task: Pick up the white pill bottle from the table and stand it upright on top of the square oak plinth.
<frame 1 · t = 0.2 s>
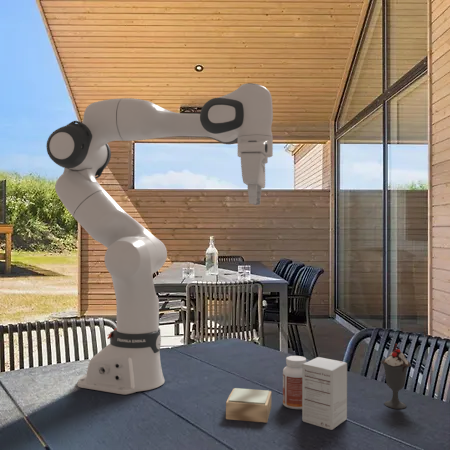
hand: (254, 204, 125), 47 cm above the table, tool pointing down, fingers open, 8 cm apart
plinth: (249, 412, 112), on the table
supplement box: (324, 421, 108), on the table
pill bottle: (295, 406, 117), on the table
sundae: (395, 406, 117), on the table
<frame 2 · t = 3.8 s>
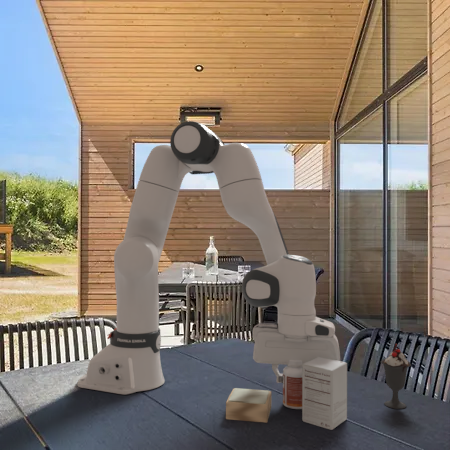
hand: (296, 383, 117), 5 cm above the table, tool pointing down, fingers closed on pill bottle, 6 cm apart
pill bottle: (295, 406, 117), on the table, touching gripper
everything else where it was.
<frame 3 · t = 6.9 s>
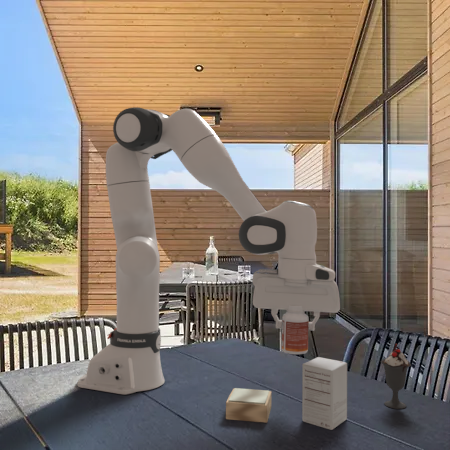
hand: (295, 329, 116), 18 cm above the table, tool pointing down, fingers closed on pill bottle, 6 cm apart
pill bottle: (294, 352, 116), point 12 cm above the table, touching gripper
everything else where it was.
when the fingers open (10 cm above the table, at t = 10.0 s): pill bottle drops 1 cm, resting on plinth.
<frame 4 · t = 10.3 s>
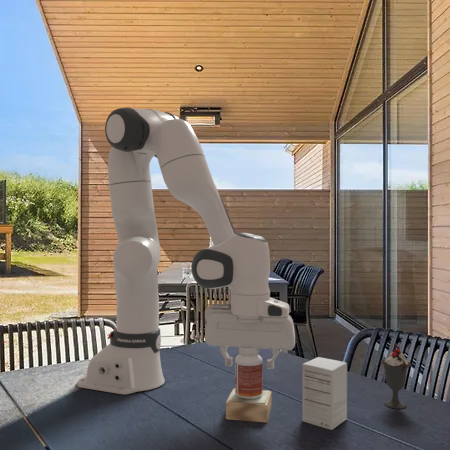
hand: (249, 366, 111), 10 cm above the table, tool pointing down, fingers open, 8 cm apart
pill bottle: (248, 396, 112), point 4 cm above the table, touching plinth
everything else where it was.
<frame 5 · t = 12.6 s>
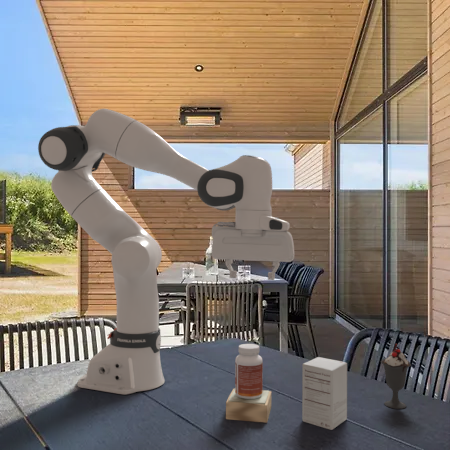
hand: (252, 279, 121), 29 cm above the table, tool pointing down, fingers open, 8 cm apart
nothing on the table moved.
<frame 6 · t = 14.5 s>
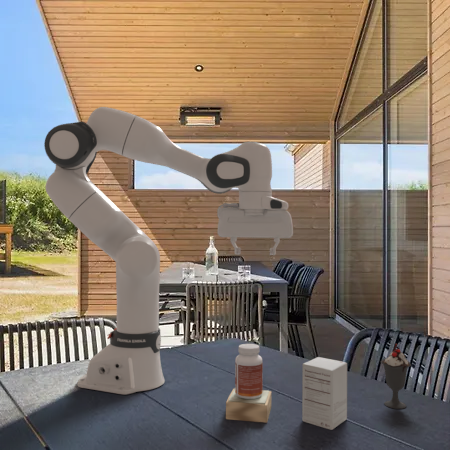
hand: (255, 254, 133), 34 cm above the table, tool pointing down, fingers open, 8 cm apart
nothing on the table moved.
at the end: pill bottle 0.2 cm off-centre on the plinth, point 3.8 cm above the plinth's base; pill bottle tilted 0°; the gripper is holding nothing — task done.
